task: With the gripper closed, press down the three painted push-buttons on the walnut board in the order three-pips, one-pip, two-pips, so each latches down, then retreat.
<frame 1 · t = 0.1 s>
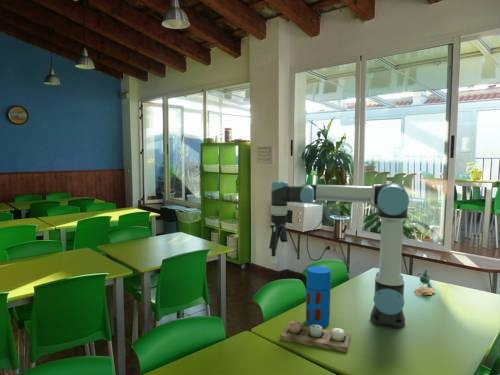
hand: (278, 258, 175), 28 cm above the table, fingers open, 13 cm apart
button one: (337, 334, 152), point 4 cm above the table, slide at 0.0 cm
button three: (294, 326, 158), point 4 cm above the table, slide at 0.0 cm
board: (315, 339, 155), on the table
frog figurine: (425, 293, 209), on the table
thermos: (317, 323, 171), on the table
button two: (315, 330, 155), point 4 cm above the table, slide at 0.0 cm
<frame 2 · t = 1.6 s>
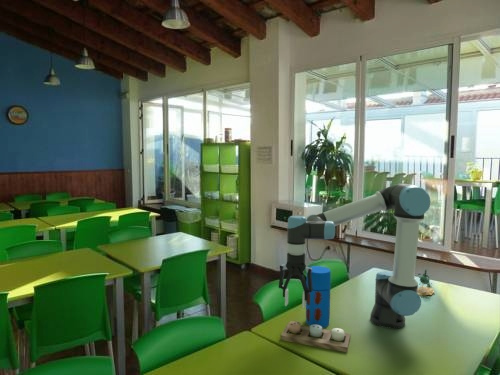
hand: (295, 305, 158), 13 cm above the table, fingers open, 7 cm apart
nothing on the table moved.
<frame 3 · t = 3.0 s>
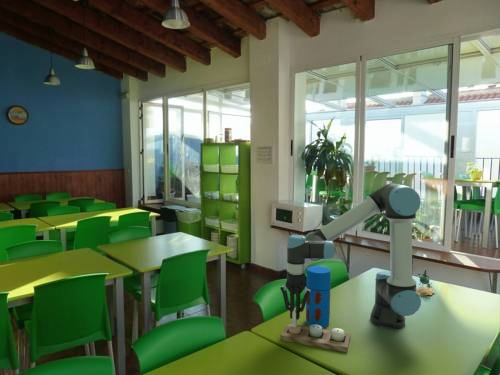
hand: (294, 326, 158), 4 cm above the table, fingers closed
button three: (294, 330, 158), point 2 cm above the table, slide at 1.5 cm, touching gripper
everything else where it was.
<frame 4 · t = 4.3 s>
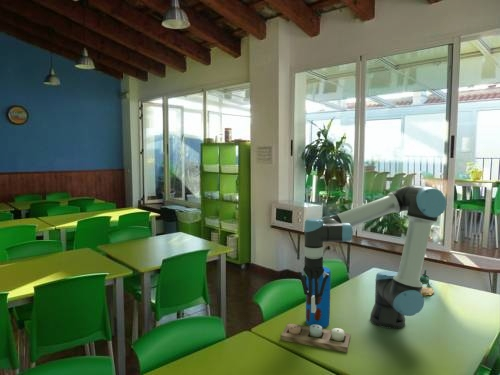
hand: (313, 311, 155), 12 cm above the table, fingers closed
button three: (294, 330, 158), point 2 cm above the table, slide at 1.7 cm
everything else where it was.
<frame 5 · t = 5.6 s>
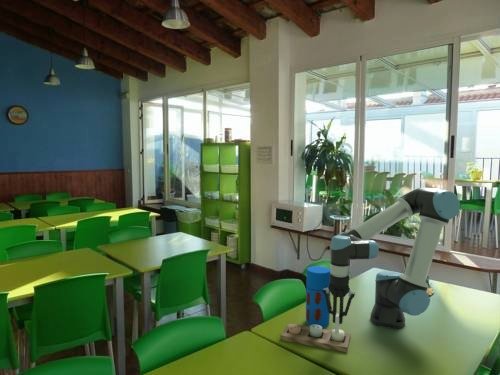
hand: (337, 330, 152), 5 cm above the table, fingers closed
button one: (337, 334, 152), point 4 cm above the table, slide at 0.3 cm, touching gripper
everything else where it was.
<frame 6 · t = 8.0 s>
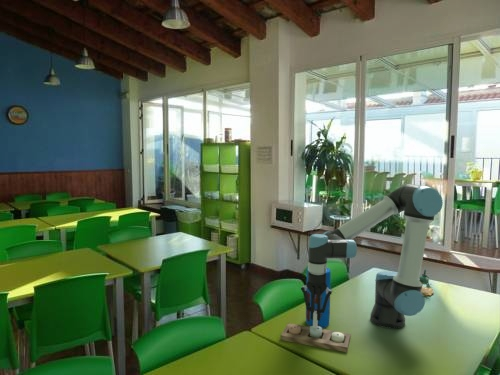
hand: (315, 327, 155), 5 cm above the table, fingers closed
button one: (337, 338, 152), point 2 cm above the table, slide at 1.7 cm
button two: (315, 331, 155), point 3 cm above the table, slide at 0.4 cm, touching gripper
everything else where it was.
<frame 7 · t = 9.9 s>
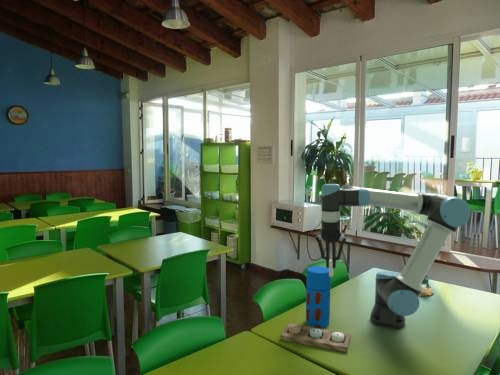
hand: (331, 275, 158), 26 cm above the table, fingers closed
button two: (315, 334, 155), point 2 cm above the table, slide at 1.7 cm
everything else where it was.
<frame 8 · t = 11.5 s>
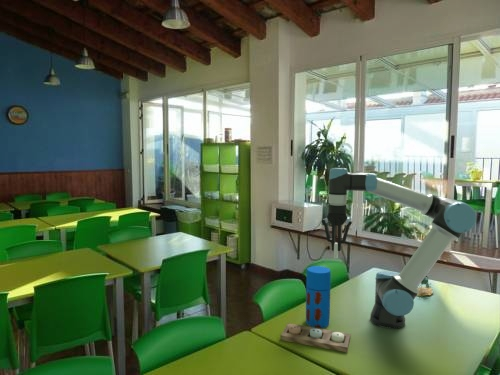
hand: (335, 258, 161), 32 cm above the table, fingers closed
at the end: button three slide at 1.7 cm; button one slide at 1.7 cm; button two slide at 1.7 cm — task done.
